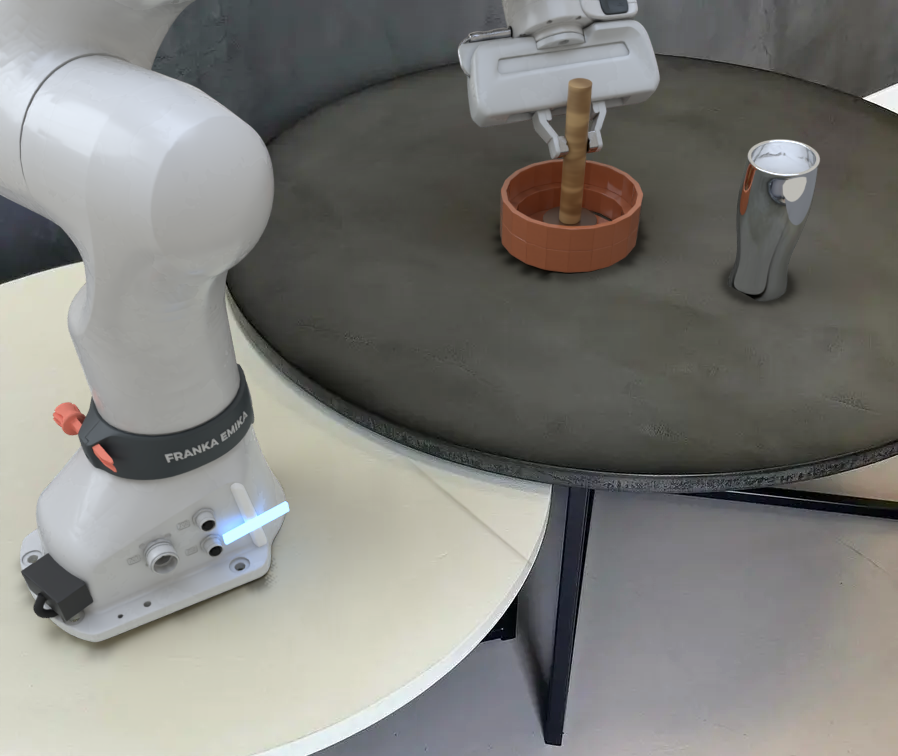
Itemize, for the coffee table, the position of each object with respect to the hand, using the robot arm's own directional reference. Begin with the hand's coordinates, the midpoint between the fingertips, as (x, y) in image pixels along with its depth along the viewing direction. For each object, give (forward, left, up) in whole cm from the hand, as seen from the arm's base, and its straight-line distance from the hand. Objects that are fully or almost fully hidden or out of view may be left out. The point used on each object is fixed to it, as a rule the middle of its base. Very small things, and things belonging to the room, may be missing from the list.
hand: (577, 153), depth 103 cm
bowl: (0, +1, -11) cm, 11 cm away
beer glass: (+8, -19, -11) cm, 24 cm away
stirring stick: (0, +1, -9) cm, 9 cm away
